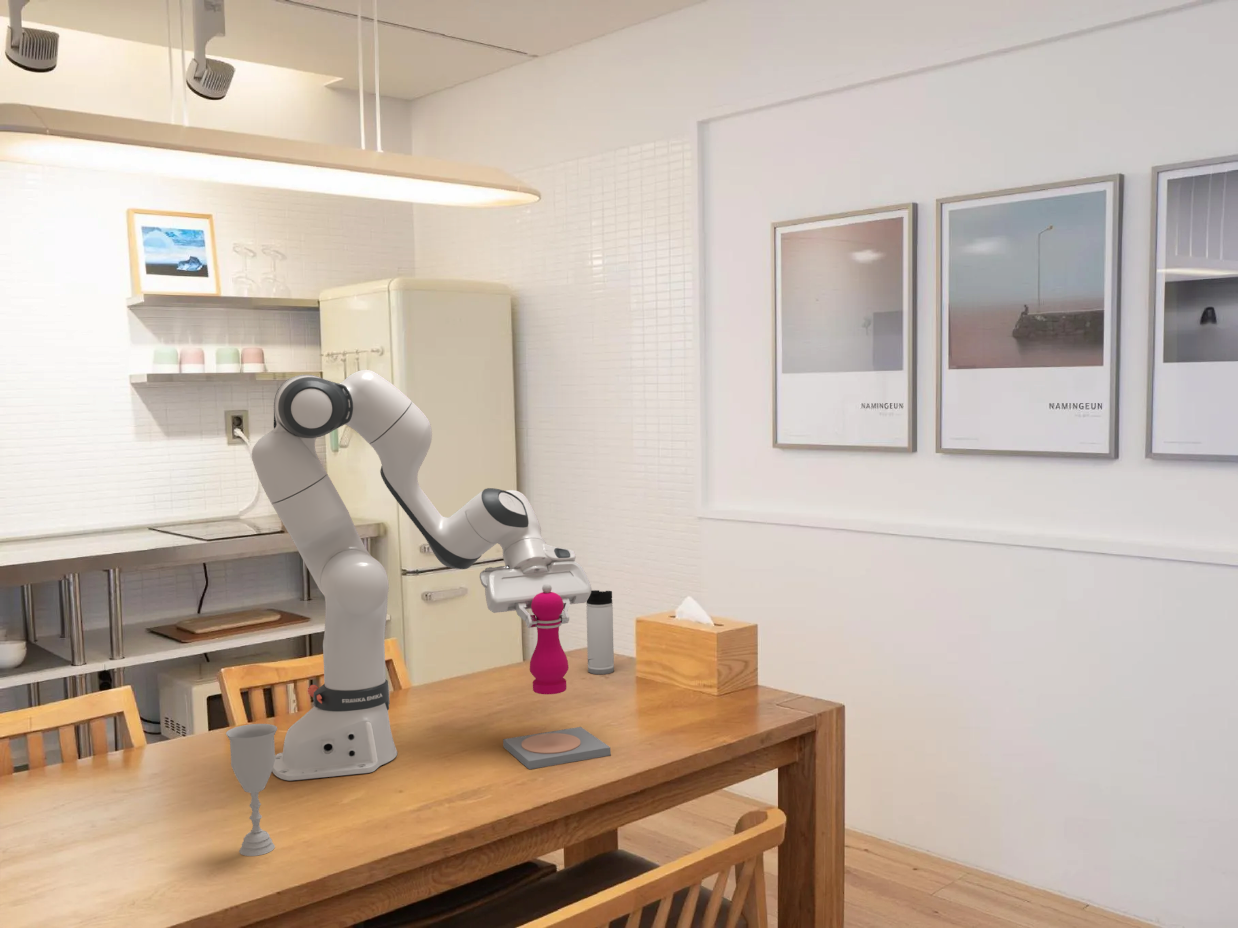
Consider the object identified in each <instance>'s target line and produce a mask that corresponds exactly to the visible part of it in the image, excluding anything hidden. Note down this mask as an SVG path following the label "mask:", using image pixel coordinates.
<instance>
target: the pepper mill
mask: <svg viewBox="0 0 1238 928" xmlns="http://www.w3.org/2000/svg"><path fill="white" fill-rule="evenodd" d="M542 590H543V592H542V593H539V594H537V595H536V596H535V597H534V598H533V600H532V603H531V609H530V610H531V612H532V613H533V614H532V615H535V617H536V618H535V619H536V620H537V625H536V627H535V628H536V630H537V639H536V640H537V641H536V645H535V648H534V650H533V653H532V655H531V658H530V662H529V672H530V674H531V676H533V677H534V680H533V681H532V691H533V692H534V693H536V694H539V695H558V694H561V693H563V692H565V691H566V690H567V679H566V678H564V677H565V676H566V675H567V673H568V671H569V661H568V657H567V655H566V653H565V651H564V648H563V647H562V645H561V641H560V631H559V630H560V627H561V626H562V624H561V618H560V617H559V616H560V614H561V613H562V611H563V609H564V605H563V600H562V598H561V597H560V596H559V595H558V594H556V593H554V592H551V590H552V587H551V585H550V584H544V585H543V587H542Z"/></svg>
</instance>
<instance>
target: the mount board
mask: <svg viewBox="0 0 1238 928" xmlns="http://www.w3.org/2000/svg"><path fill="white" fill-rule="evenodd" d="M502 740H503V741H502V742H503V743H502V744H503V745H502V746H503V749H505V750H507V752H509V753H510V754H511V755H512V756H513V757H514V758H515V759H516V760H518V761H519V762H520V763H521V764H522V765H523V766H524V767H526V768H527V769H528V770H534V769H540V768H545V767H552V766H557V765H563V764H568V763H574V762H578V761H585V760H590V759H591V760H592V759H597V758H602V757H607V756H608V757H609V756H611V752H612V751H611V746H609V745H608V744H607V743H605V742H603V741H602V740H601V739H599V738H597V737H596V736H595V735H593V734H592V733H590V732H589V731H588V730H586V729H585V728H583V727H582V726H577V727H570V728H565V729H560V730H553V731H546V732H541V733H532V734H528V735H521V736H516V737H515V736H514V737H510V738H504V739H502Z"/></svg>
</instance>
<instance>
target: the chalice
mask: <svg viewBox="0 0 1238 928" xmlns="http://www.w3.org/2000/svg"><path fill="white" fill-rule="evenodd" d="M277 730H278V727H277V726H276V725H275V724H269V723H250V724H245V725H239V726H235V727H232V728H230V729H229V730H227V731H226V733H225V735H226V737H227V738H228V740H229V748H230V750H229V751H230V765H231V768H232V770H233V774H234V775H235V777H236V779H237V781H238V783H239V784H240V786H241V787H242V789H243V790H244V792H246V793H250V797H251V801H250V803H249V805H248V806H249V807H250V810H251V811H252V812H251V815H250V816H249V820H251V823H252V829H250V831H249V832H247V833H246V835H245V836H244V837H243V841H242V843H241V847H240V848H239V850H238V853H239V854H240V855H242V856H245V857H256V856H262V855H265V854H268V853H270V852H272V851H273V850H274V849H275V847H276V845H275V843H274V842H273V840H272V838H271V836H270V834H269V832H268V831H266V830H263V828H261V826H260V822H261V819H262V818H263V815H262V814H260V813H261V812H260V807H261V806H262V803H261V802H260V800H259V792H262V791H263V790H265V789H266V788H265V787H266V786H267V783H268V782H269V779H270V776H271V775H272V773H273V772H272V769H273V765H274V762H275V755H276V752H275V751H276V749H275V748H276V747H275V745H276V744H275V735H276V733H277Z"/></svg>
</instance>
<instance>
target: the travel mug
mask: <svg viewBox="0 0 1238 928" xmlns="http://www.w3.org/2000/svg"><path fill="white" fill-rule="evenodd" d="M613 603H614V602H613V591H612V590H605V591H603V590H601V591H600V590H595V589H594V590H593V589H592V590H591V594H590V596H589V598H588V600H587V601H586V602H585V604H586V640H587V641H586V642H587V643H586V645H587V646H586V647H587V648H586V649H587V652H586V653H587V671H588V673H590V674H592V675H608V674H612V673H614V672H615V661H614V659H615V658H614V654H615V653H614V649H615V648H614V616H613V615H614V613H613V612H614V609H613V608H614V607H613Z"/></svg>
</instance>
